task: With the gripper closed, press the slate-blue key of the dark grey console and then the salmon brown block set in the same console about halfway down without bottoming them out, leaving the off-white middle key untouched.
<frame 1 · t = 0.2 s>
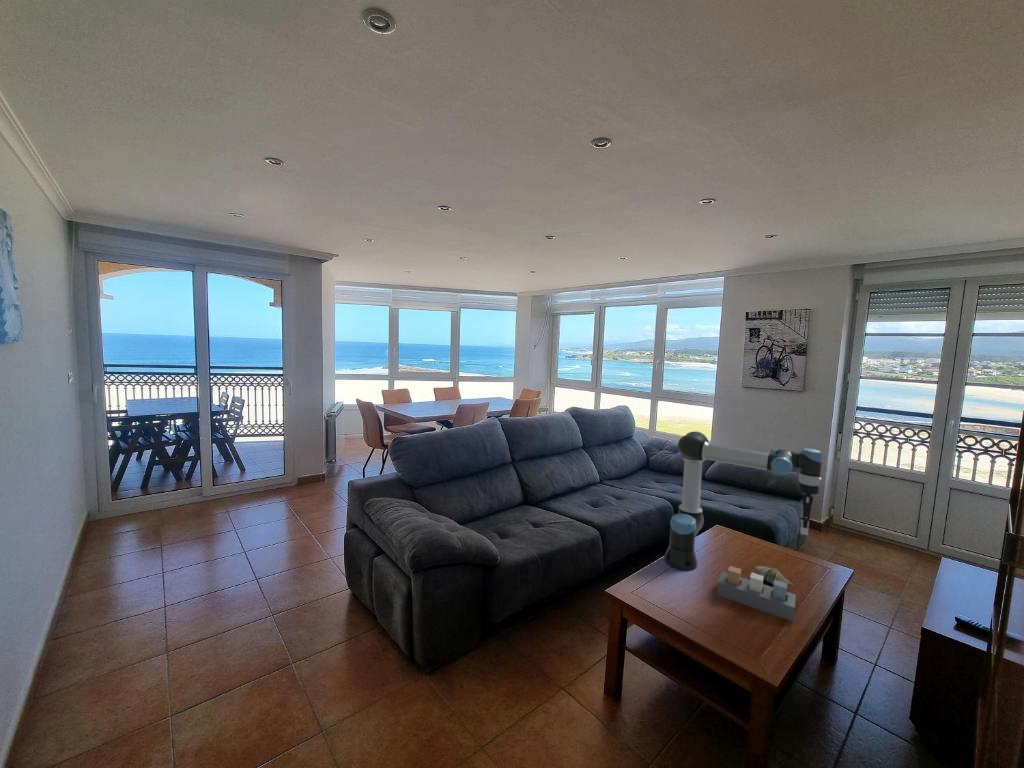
hand: (804, 528, 186), 28 cm above the table, fingers open, 13 cm apart
console: (754, 601, 177), on the table
seashell: (772, 585, 189), on the table
white key: (756, 584, 176), point 8 cm above the table, slide at 0.0 cm
blue key: (779, 591, 171), point 8 cm above the table, slide at 0.0 cm
salmon brown block: (734, 577, 181), point 8 cm above the table, slide at 0.0 cm
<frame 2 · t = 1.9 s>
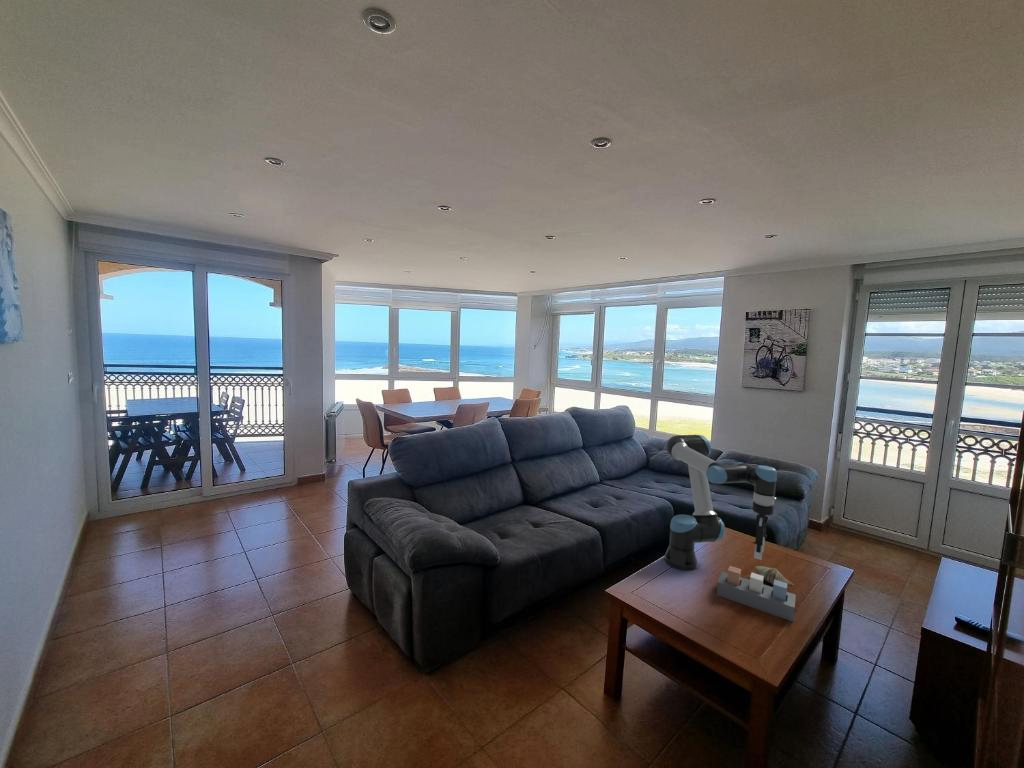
hand: (758, 554, 175), 21 cm above the table, fingers open, 8 cm apart
nothing on the table moved.
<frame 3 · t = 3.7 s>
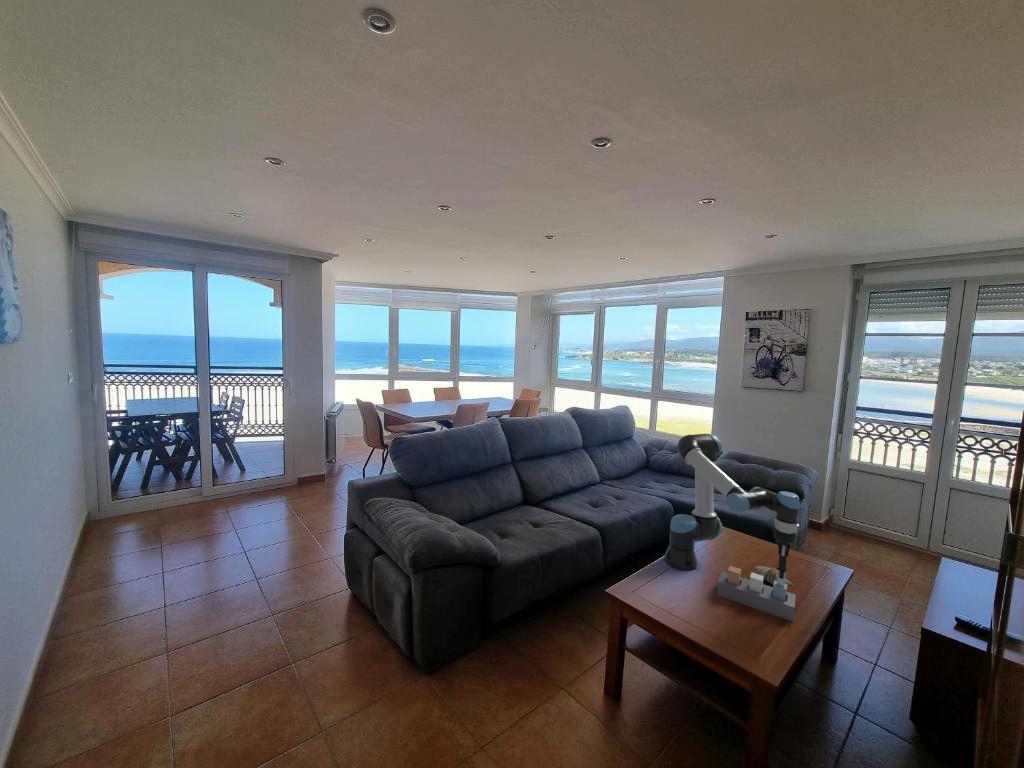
hand: (780, 584, 171), 11 cm above the table, fingers closed
blue key: (779, 592, 171), point 7 cm above the table, slide at 0.5 cm, touching gripper
everything else where it was.
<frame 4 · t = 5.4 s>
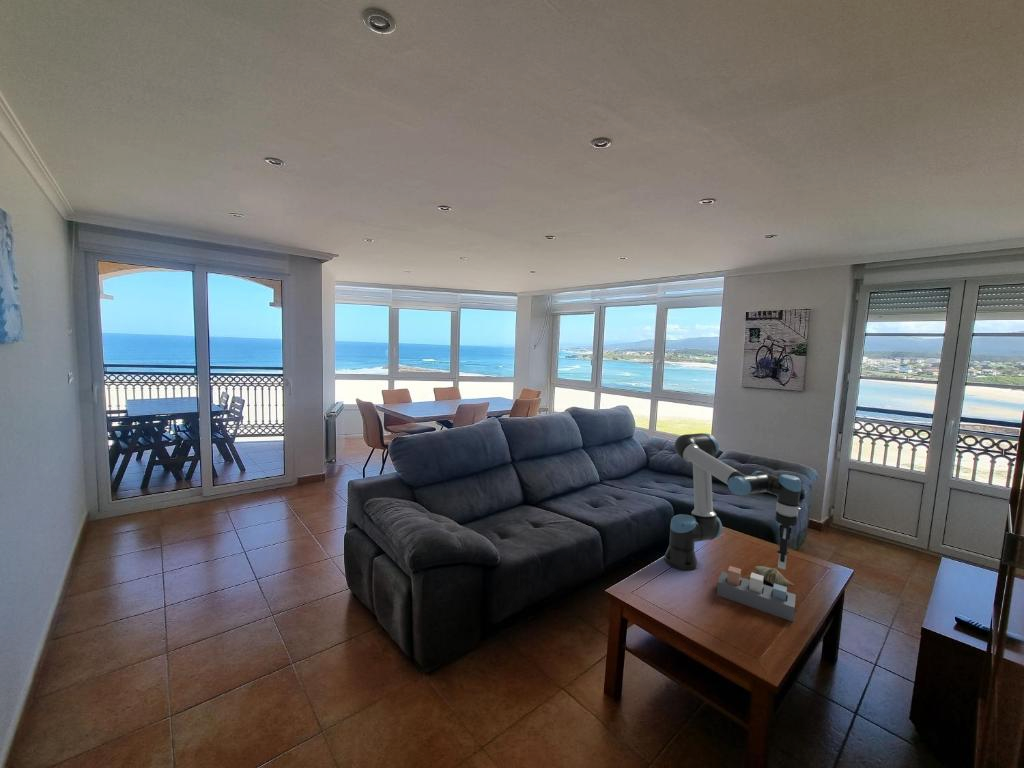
hand: (781, 567, 170), 18 cm above the table, fingers closed
blue key: (779, 595, 171), point 6 cm above the table, slide at 1.7 cm
everything else where it was.
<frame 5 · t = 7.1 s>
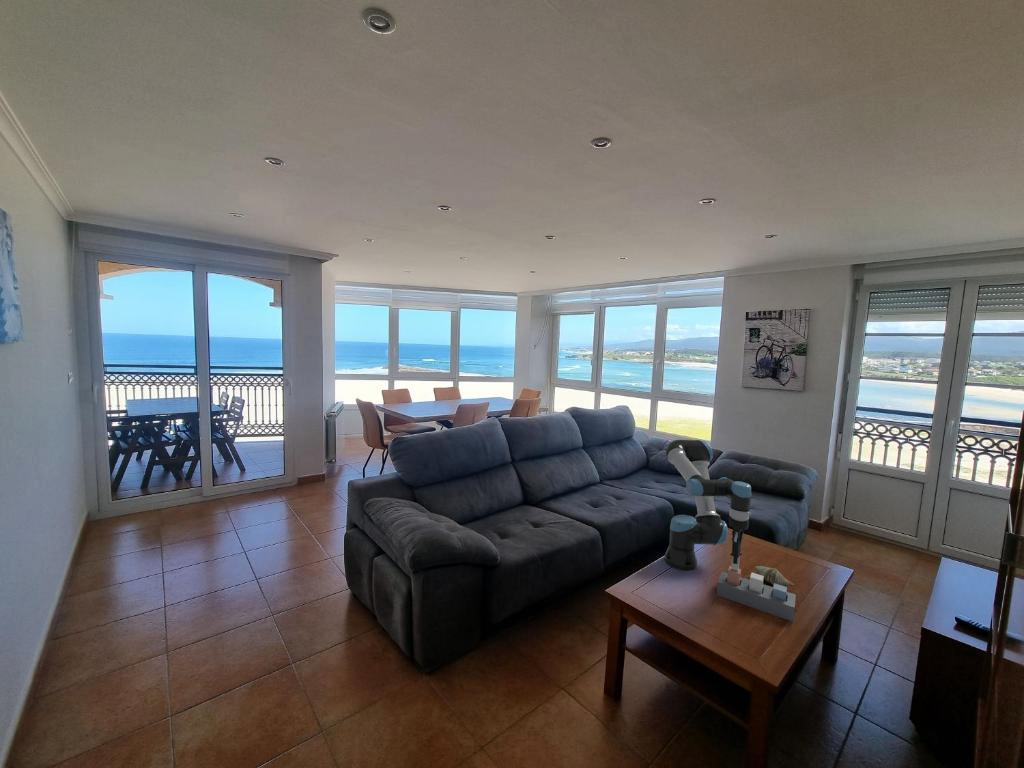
hand: (734, 569, 181), 11 cm above the table, fingers closed
salmon brown block: (734, 577, 181), point 8 cm above the table, slide at 0.1 cm, touching gripper
everything else where it was.
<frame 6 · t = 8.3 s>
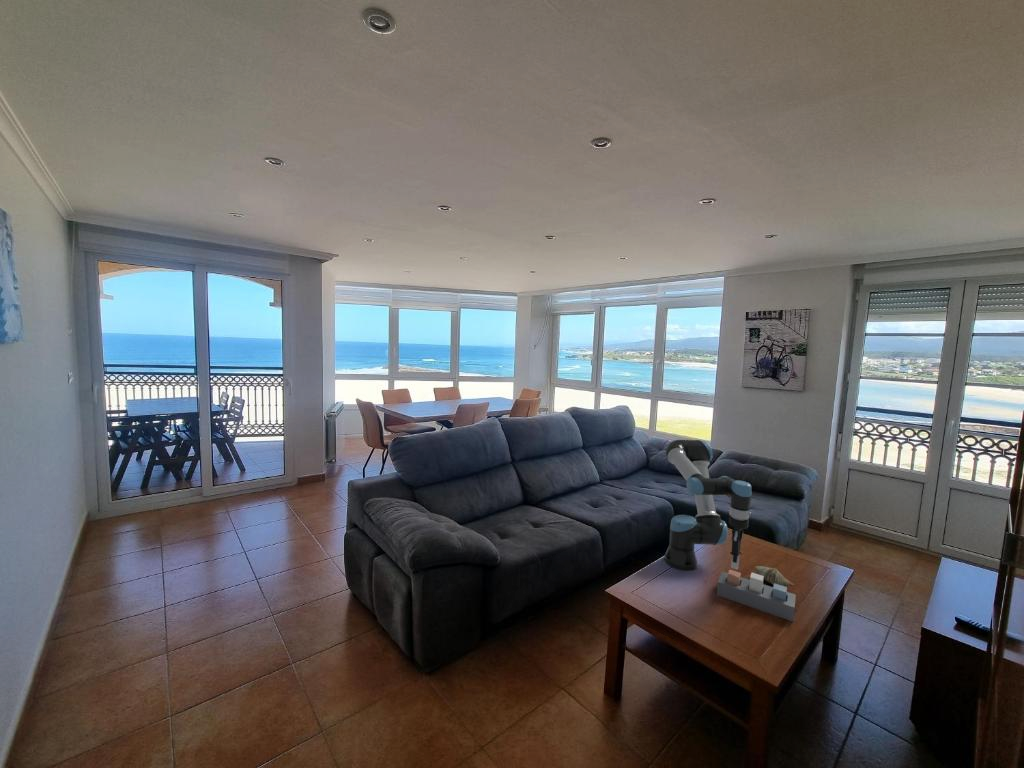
hand: (734, 567, 181), 12 cm above the table, fingers closed
salmon brown block: (733, 580, 181), point 6 cm above the table, slide at 1.8 cm
everything else where it was.
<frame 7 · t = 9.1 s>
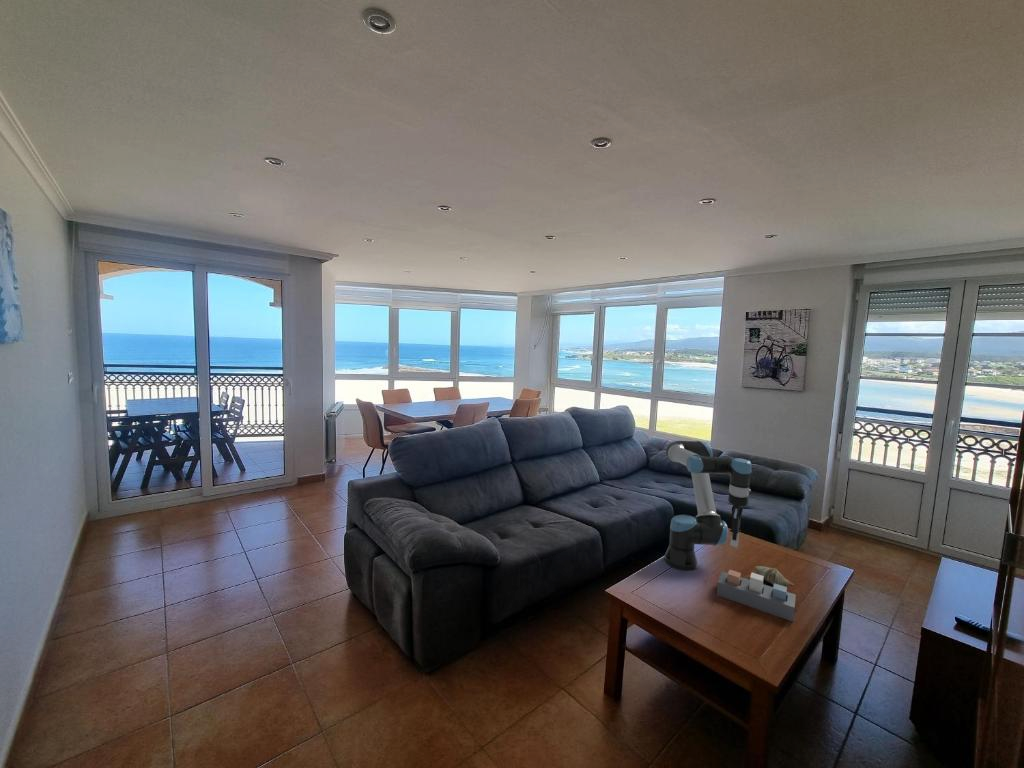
hand: (733, 545, 181), 22 cm above the table, fingers closed
nothing on the table moved.
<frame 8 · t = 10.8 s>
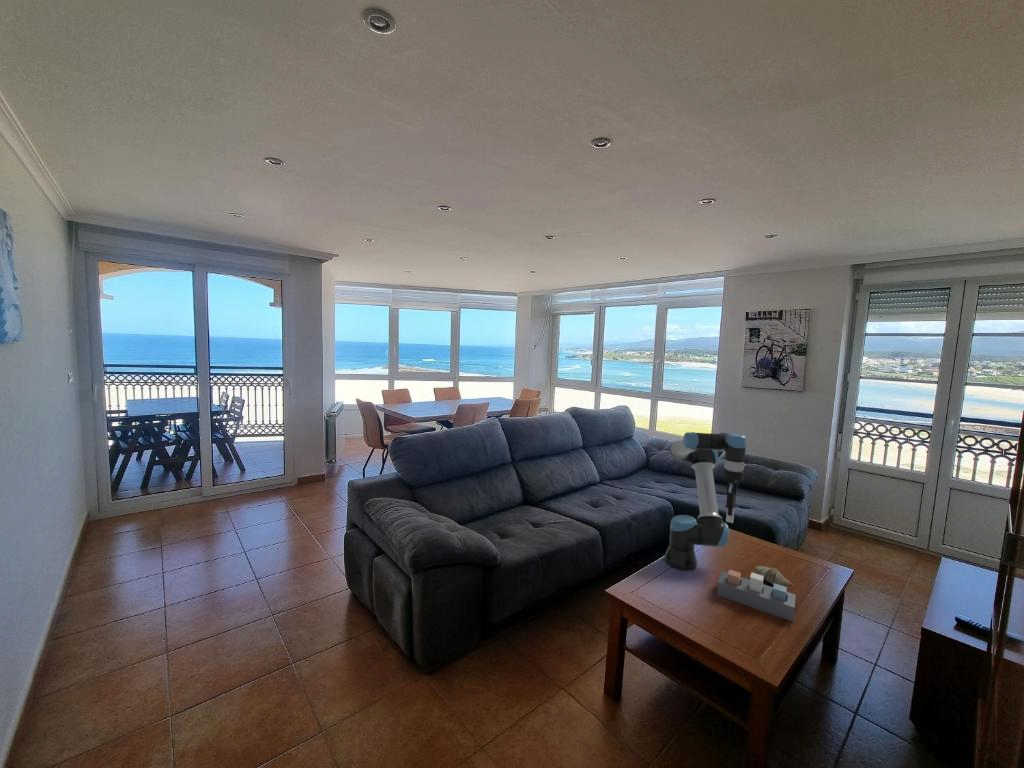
hand: (729, 521, 181), 32 cm above the table, fingers closed
nothing on the table moved.
at the end: blue key slide at 1.7 cm; salmon brown block slide at 1.8 cm; white key slide at 0.0 cm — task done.
